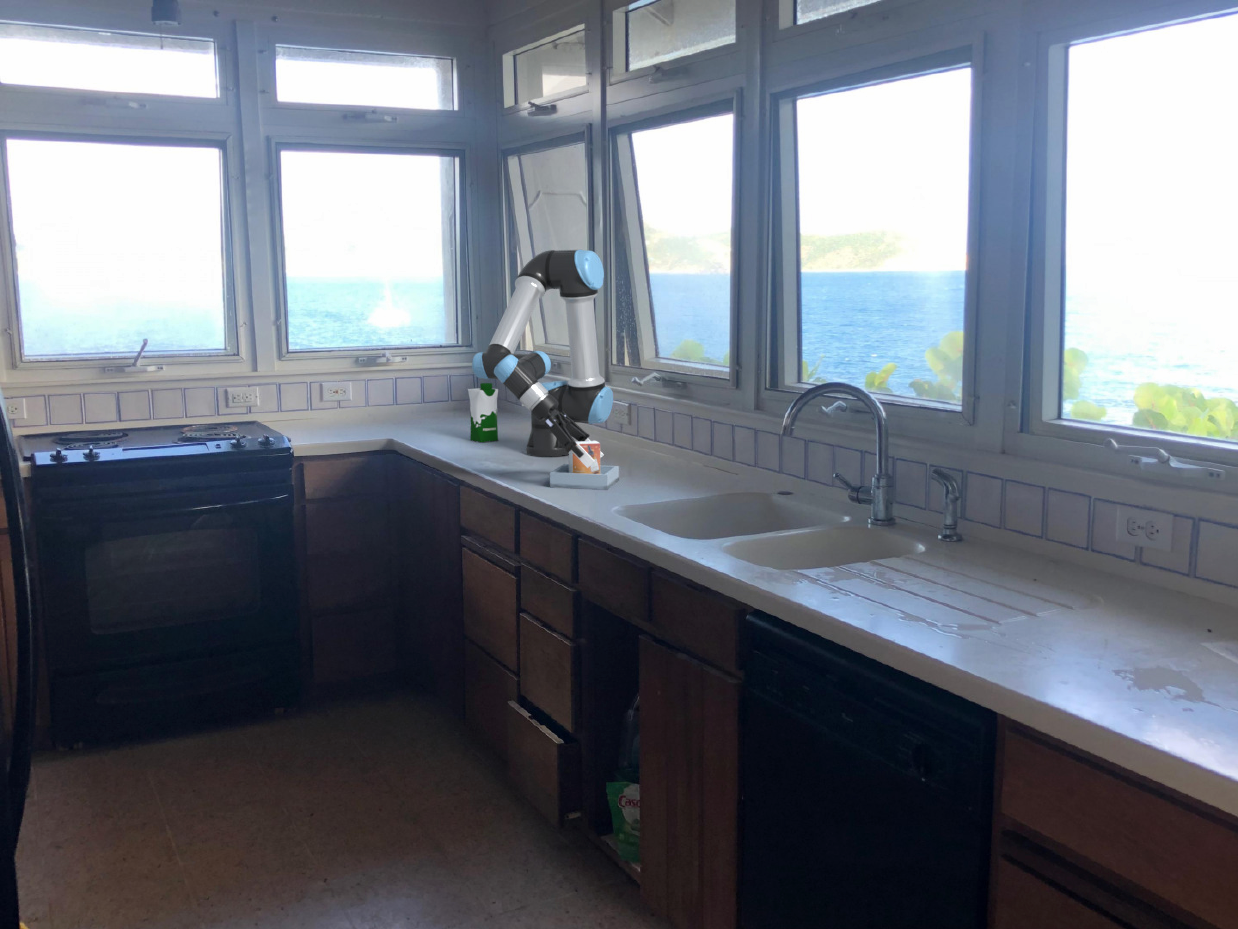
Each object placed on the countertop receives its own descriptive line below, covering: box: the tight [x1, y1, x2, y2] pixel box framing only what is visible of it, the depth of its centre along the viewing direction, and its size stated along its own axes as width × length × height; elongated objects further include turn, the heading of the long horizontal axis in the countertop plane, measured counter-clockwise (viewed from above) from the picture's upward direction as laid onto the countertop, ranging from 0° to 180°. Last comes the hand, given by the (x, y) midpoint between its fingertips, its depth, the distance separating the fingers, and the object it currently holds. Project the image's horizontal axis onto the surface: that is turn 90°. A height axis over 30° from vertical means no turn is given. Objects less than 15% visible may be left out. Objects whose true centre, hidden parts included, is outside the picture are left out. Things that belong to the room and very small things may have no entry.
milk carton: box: [467, 382, 499, 443], centre depth 373 cm, size 9×9×20 cm
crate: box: [549, 463, 620, 491], centre depth 298 cm, size 14×16×4 cm
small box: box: [568, 440, 601, 474], centre depth 297 cm, size 8×6×10 cm
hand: (595, 461), depth 296 cm, fingers open, 10 cm apart
